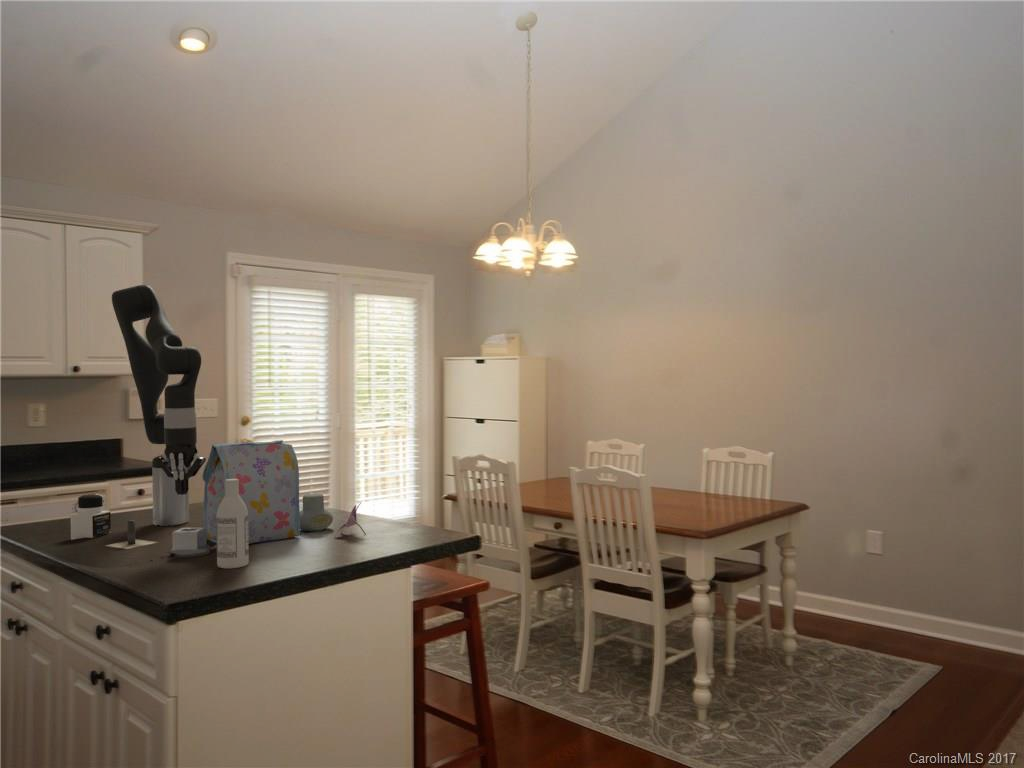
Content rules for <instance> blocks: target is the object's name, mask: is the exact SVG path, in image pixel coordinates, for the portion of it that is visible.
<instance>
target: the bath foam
mask: <svg viewBox="0 0 1024 768" xmlns="http://www.w3.org/2000/svg"><path fill="white" fill-rule="evenodd" d="M225 494H226V495H225V497H224V499H223V500H222V502H221V503H220V505H219V507H218V510H217V517H216V525H217V543H216V564H217V565H216V566H217V567H218V568H221V569H231V570H232V569H238V568H239V569H240V568H244V567H246V566H248V564H249V562H250V560H249V559H250V558H249V556H250V555H249V551H250V550H249V548H250V546H249V541H248V511H247V507H246V505H245V503H244V502H243V500H242V499H241V497H240V496H239V480H238V479H227V480H225Z"/></svg>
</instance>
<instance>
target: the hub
mask: <svg viewBox="0 0 1024 768" xmlns="http://www.w3.org/2000/svg"><path fill="white" fill-rule="evenodd" d="M169 551H170V553H171V554H169V555H170V556H169V557H171V558H176V559H187V558H189V557H190V558H197V557H202V556H205V555H208V554H209V553H210V545H209V544H206V546H204V547H202V548H200V549H199V550H180V551H173V547H171V548H170V550H169Z"/></svg>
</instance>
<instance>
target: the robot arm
mask: <svg viewBox="0 0 1024 768" xmlns="http://www.w3.org/2000/svg"><path fill="white" fill-rule="evenodd" d="M111 304H112V308H113V312H114V314H115V316H116V320H117V323H118V326H119V328H120V331H121V334H122V337H123V341H124V343H125V348H126V351H127V356H128V361H129V366H130V370H131V373H132V378H133V380H134V385H135V387H136V390H137V394H138V398H139V403H140V406H141V412H142V418H143V419H142V420H143V424H144V425H143V426H144V429H145V430H144V431H145V434H146V437H147V441H148V442H149V443H151V444H153V445H165V449H164V450H163V451H164V453H163V454H161V455H157V456H155V457H153V458H152V463H151V464H152V466H151V469H152V471H151V472H152V473H151V474H152V525H153V524H154V526H157V525H160V527H161V526H162V527H163V526H165V527H166V526H167V527H168V525H169V526H176V525H182V524H185V523H188V522H190V512H189V511H190V508H189V507H190V506H189V504H190V499H189V498H190V496H189V495H190V494H189V493H190V492H189V488H190V487H189V484H190V483H189V480H190V478H193V477H195V476H196V475H197V474H198V472H199V471H200V470H201V468H202V466H203V465H204V464H205V462H207V461H206V460H207V458H206V457H205V456H201V455H200V454H199V453H198V448H197V442H198V441H197V439H198V437H197V413H196V408H195V407H196V404H195V403H196V400H195V399H196V397H195V396H196V395H195V390H196V385H197V381H198V377H199V373H200V370H201V365H202V356H201V353H200V351H199V350H198V348H196V347H194V346H183V342H182V339H181V338H180V336H179V335H178V333H177V331H176V330H175V329H174V328H173V327H172V324H171V323H170V321H169V319H168V317H167V314H166V312H165V310H164V308H163V306H162V304H161V302H160V299H159V298H158V295H157V293H156V292H155V290H154V289H153V288H152V286H150V285H149V284H139V285H135V286H130V287H127V288H123V289H122V288H121V289H119V290H116V291H114V292H112V294H111ZM146 319H148V322H147V324H146V327H145V338H146V339H145V338H144V337H143V336H142V335H141V334H140V333H139V332H138V331H137V330H136V329H135V327H134V322H138V321H143V320H146ZM169 375H170V376H172V375H173V376H174V375H176V376H177V375H183V376H182V379H181V380H180V381H179V382H177V383H172V384H168V381H169ZM167 384H168V385H167ZM162 393H164V413H160V412H159V410H158V402H159V399H160V398H161V396H162Z"/></svg>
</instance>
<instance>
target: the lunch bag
mask: <svg viewBox="0 0 1024 768" xmlns="http://www.w3.org/2000/svg"><path fill="white" fill-rule="evenodd" d="M296 455H297V454H296V452H295V450H294V447H293V445H292V444H289V443H284V440H283V439H281V440H280V439H279V440H278V439H276V440H273V441H256V442H255V441H248V442H227V443H217V444H215V443H212V444H211V449H210V452H209V456H208V458H207V461H206V463H205V466H204V468H203V472H202V475H201V476H202V481H203V482H204V488H203V489H204V490H203V491H204V493H203V494H204V495H203V527H206V540H208V541H211V542H213V543H216V544H217V525H216V517H217V510H218V507H219V505H220V503H221V502H222V500H223V499H224V497H225V495H226V494H225V480H227V479H238V480H239V496H240V497H241V499H242V500H243V502H244V503H245V505H246V507H247V511H248V541H249V544H256V543H263V542H271V541H278V540H285V539H290V538H294V537H300V534H301V533H300V531H301V529H300V511H301V510H300V508H301V507H300V469H299V461H298V457H297V456H296Z"/></svg>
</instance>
